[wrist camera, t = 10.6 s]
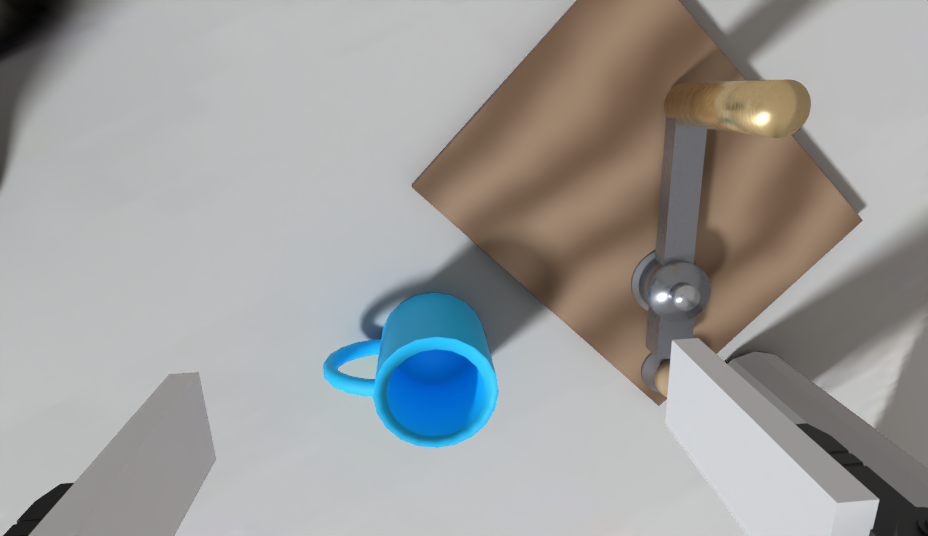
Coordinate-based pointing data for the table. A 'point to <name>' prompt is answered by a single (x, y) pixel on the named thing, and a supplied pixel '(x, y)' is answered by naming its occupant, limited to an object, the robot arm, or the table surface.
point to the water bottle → (833, 422)
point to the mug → (426, 371)
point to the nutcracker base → (628, 183)
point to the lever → (687, 119)
